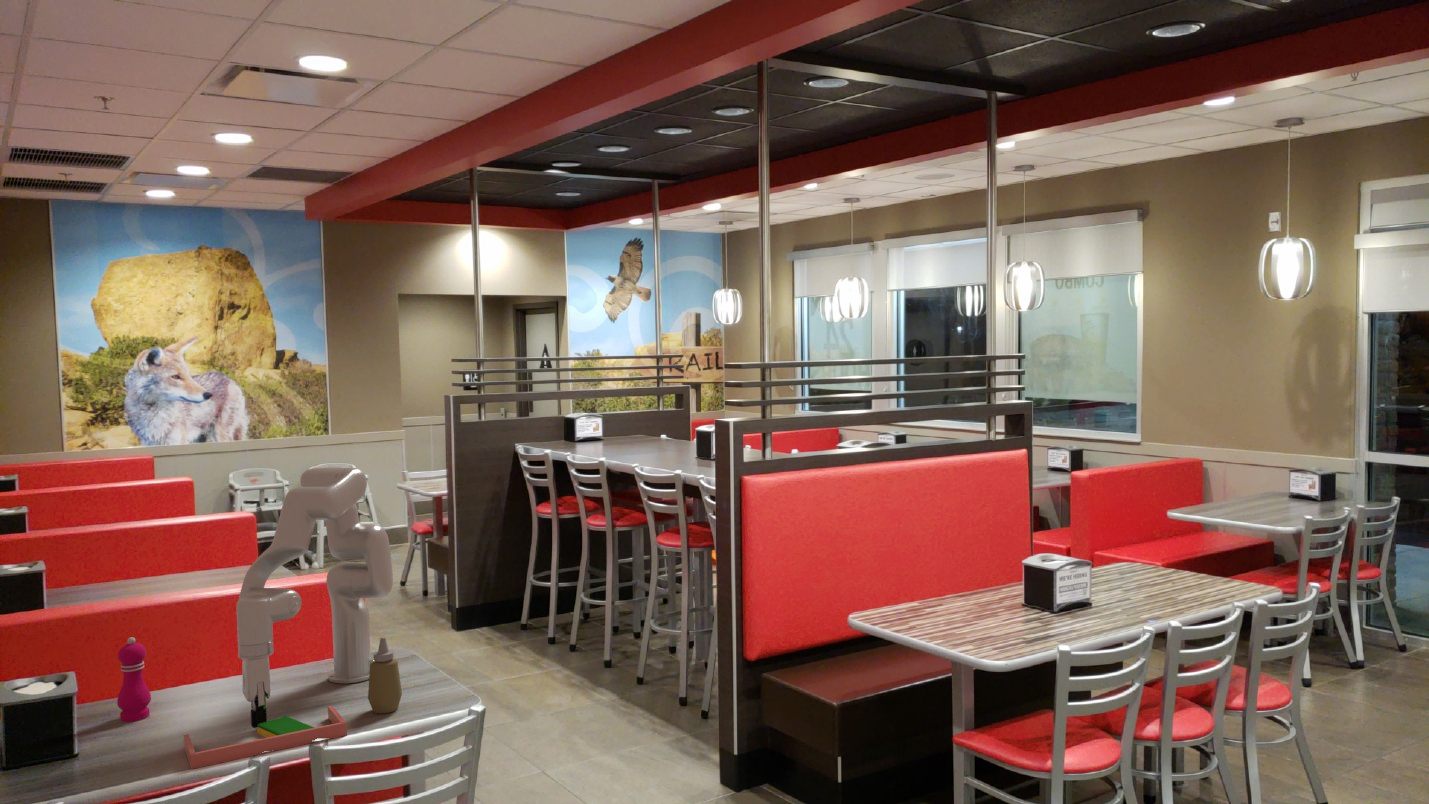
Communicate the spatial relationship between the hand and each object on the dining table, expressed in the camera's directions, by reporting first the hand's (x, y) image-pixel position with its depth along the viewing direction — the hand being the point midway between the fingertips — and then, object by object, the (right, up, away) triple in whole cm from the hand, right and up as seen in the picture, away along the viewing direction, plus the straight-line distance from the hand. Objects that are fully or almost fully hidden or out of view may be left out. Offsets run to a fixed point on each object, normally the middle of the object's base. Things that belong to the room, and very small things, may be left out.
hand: (259, 725), depth 236 cm
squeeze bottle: (+26, 0, +11) cm, 28 cm away
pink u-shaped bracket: (+5, -1, -8) cm, 10 cm away
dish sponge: (+8, -1, -4) cm, 9 cm away
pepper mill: (-35, -2, +11) cm, 37 cm away
